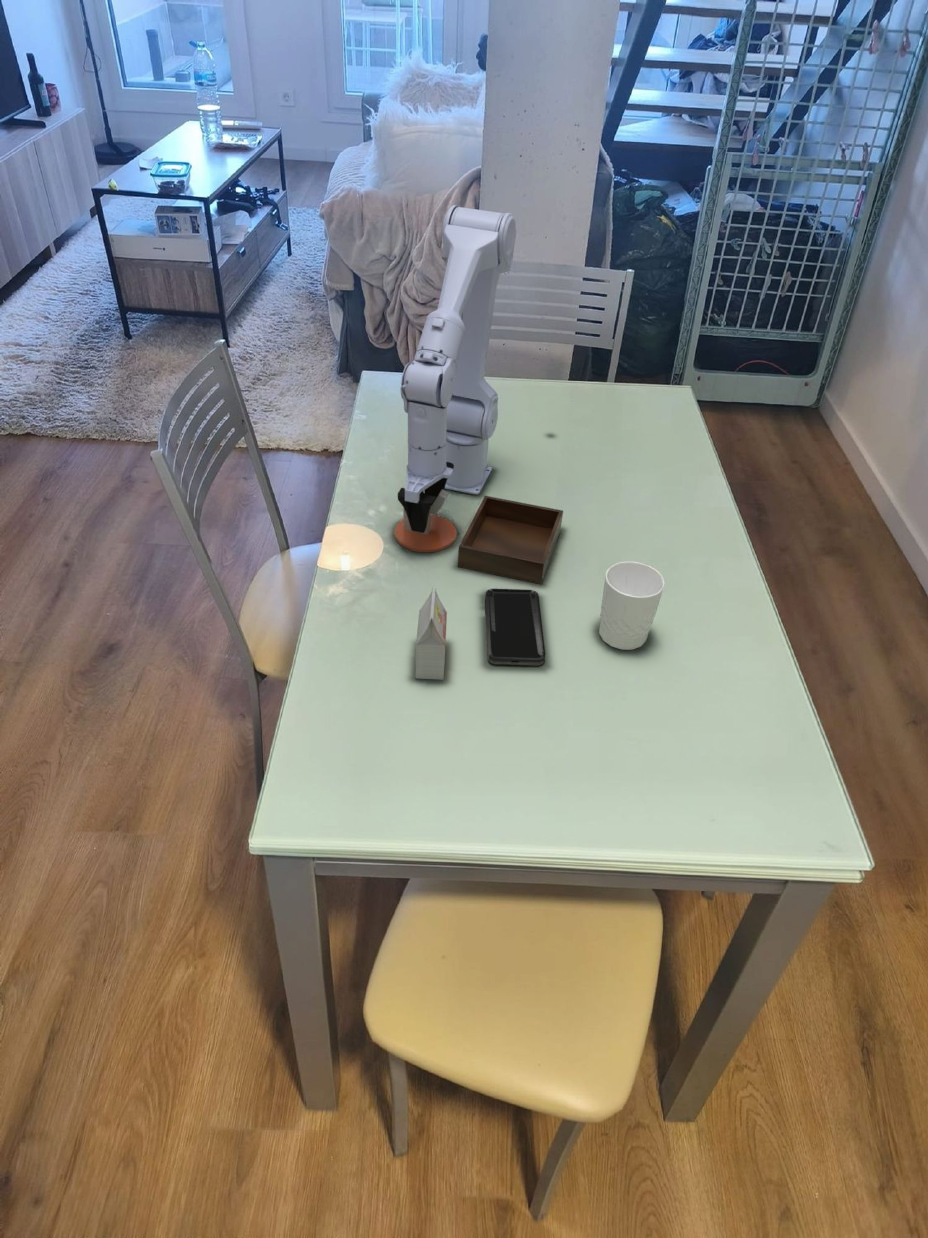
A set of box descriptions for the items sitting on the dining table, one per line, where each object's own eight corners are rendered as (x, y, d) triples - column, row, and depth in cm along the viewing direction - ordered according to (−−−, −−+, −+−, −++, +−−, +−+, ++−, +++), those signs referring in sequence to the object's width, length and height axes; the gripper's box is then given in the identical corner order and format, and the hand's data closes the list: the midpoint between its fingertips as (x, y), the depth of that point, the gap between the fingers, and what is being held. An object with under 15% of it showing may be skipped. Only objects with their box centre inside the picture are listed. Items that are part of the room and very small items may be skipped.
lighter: (403, 529, 132) (402, 487, 127) (406, 524, 134) (406, 481, 128) (445, 538, 131) (446, 495, 126) (448, 532, 132) (449, 489, 127)
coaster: (406, 512, 137) (406, 509, 137) (463, 523, 135) (464, 520, 135) (385, 545, 130) (385, 542, 130) (445, 557, 128) (446, 554, 128)
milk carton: (415, 678, 108) (416, 620, 101) (418, 643, 113) (419, 586, 106) (443, 679, 108) (445, 622, 101) (445, 645, 113) (447, 588, 106)
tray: (483, 515, 138) (484, 495, 135) (560, 530, 135) (563, 510, 133) (457, 566, 127) (458, 546, 124) (541, 584, 124) (543, 563, 122)
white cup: (615, 659, 112) (628, 603, 106) (583, 625, 117) (594, 569, 111) (661, 643, 115) (676, 587, 108) (628, 610, 120) (641, 555, 114)
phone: (537, 590, 121) (546, 660, 110) (537, 595, 122) (545, 666, 110) (484, 588, 121) (487, 658, 109) (484, 594, 121) (486, 664, 110)
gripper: (437, 469, 116) (436, 547, 125) (466, 423, 126) (462, 499, 135) (390, 460, 117) (392, 538, 126) (422, 416, 128) (422, 491, 137)
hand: (425, 517), depth 131 cm, fingers open, 7 cm apart
